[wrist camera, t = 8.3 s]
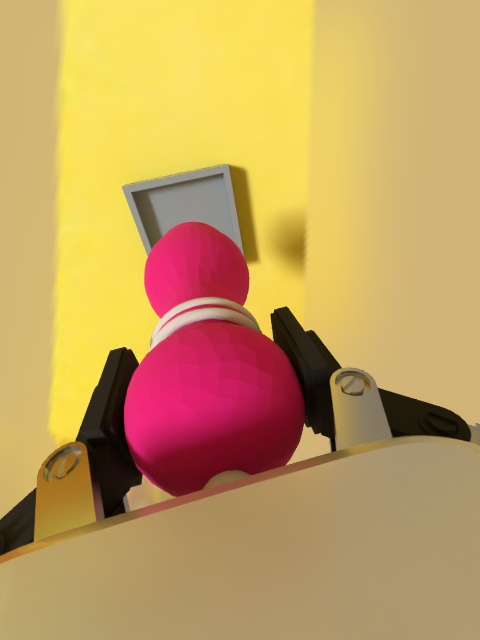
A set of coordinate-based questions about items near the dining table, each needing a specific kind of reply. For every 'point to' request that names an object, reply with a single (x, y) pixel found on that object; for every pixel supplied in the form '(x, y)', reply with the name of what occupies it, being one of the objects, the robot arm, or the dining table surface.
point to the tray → (184, 203)
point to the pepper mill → (208, 372)
